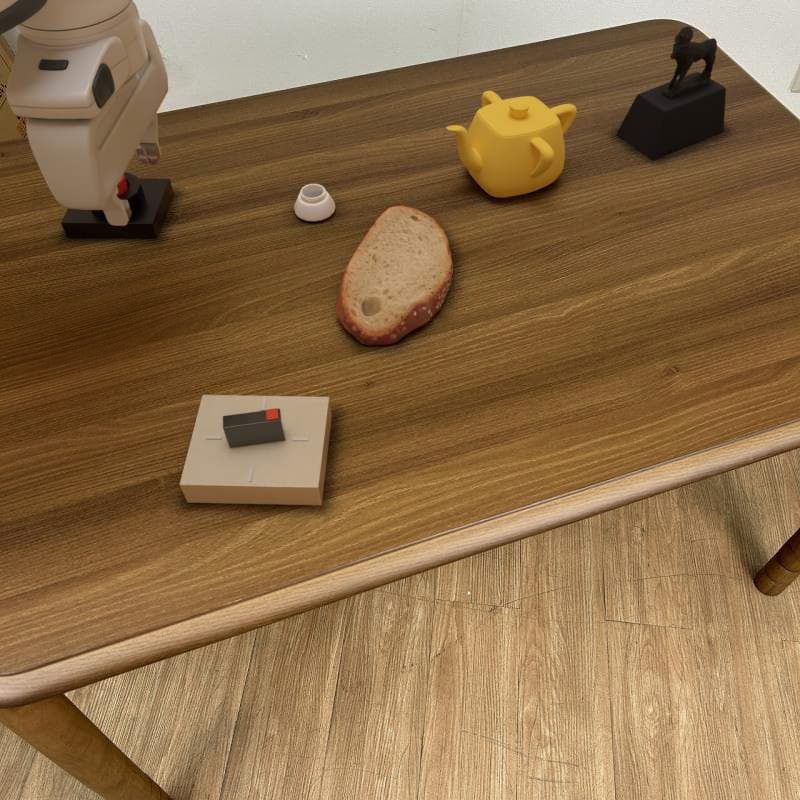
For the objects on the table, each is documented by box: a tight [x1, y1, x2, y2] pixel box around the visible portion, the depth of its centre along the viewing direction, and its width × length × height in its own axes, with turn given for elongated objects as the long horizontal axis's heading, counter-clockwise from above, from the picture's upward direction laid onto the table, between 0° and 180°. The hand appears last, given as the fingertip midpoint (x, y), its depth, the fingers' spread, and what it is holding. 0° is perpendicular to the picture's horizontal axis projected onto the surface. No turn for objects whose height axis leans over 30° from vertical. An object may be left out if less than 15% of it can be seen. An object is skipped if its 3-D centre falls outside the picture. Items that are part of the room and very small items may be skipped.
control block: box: [60, 171, 175, 239], centre depth 91 cm, size 11×9×4 cm
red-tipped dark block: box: [223, 408, 285, 448], centre depth 65 cm, size 5×1×3 cm, turn 99°
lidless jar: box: [293, 183, 336, 222], centre depth 91 cm, size 5×3×5 cm
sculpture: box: [615, 26, 727, 161], centre depth 96 cm, size 8×13×15 cm, turn 119°
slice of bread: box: [335, 205, 454, 346], centre depth 83 cm, size 18×18×4 cm
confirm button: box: [116, 174, 128, 196], centre depth 89 cm, size 4×4×2 cm
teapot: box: [445, 90, 578, 198], centre depth 92 cm, size 14×13×10 cm
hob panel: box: [179, 394, 333, 506], centre depth 68 cm, size 12×10×3 cm
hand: (137, 189), depth 70 cm, fingers open, 8 cm apart
